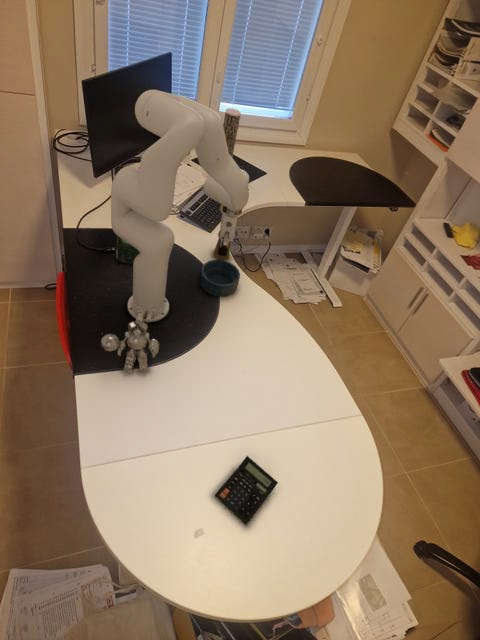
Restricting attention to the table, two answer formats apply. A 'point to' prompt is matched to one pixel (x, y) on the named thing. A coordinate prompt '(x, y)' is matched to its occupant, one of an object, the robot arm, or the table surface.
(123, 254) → the coffee jar
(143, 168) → the robot arm
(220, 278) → the bowl
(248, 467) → the calculator
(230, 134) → the paper tube
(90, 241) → the table surface
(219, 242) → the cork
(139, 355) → the robot toy
